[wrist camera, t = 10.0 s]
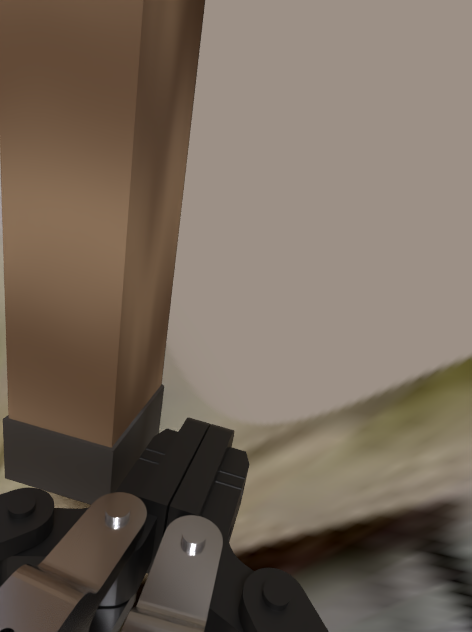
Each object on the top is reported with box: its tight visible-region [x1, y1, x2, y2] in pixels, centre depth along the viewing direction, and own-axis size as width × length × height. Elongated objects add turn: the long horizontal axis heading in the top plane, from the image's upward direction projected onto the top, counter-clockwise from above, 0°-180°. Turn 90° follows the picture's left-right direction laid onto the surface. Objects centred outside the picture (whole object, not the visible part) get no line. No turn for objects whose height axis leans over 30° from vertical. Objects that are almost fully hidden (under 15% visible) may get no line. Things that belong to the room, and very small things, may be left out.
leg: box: [0, 0, 205, 505], centre depth 9 cm, size 21×3×5 cm, turn 170°
